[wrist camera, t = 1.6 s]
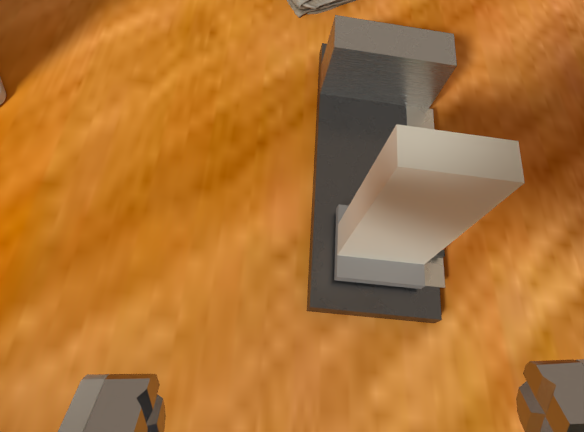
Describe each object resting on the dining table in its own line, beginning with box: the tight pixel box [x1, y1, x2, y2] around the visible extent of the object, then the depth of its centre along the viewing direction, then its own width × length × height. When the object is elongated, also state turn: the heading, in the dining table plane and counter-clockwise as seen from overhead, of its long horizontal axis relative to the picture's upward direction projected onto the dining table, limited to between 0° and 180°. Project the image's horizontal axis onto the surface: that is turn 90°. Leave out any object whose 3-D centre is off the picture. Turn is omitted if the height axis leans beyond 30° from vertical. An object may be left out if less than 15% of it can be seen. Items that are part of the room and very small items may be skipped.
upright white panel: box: [334, 124, 525, 289], centre depth 38 cm, size 8×10×17 cm
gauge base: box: [307, 15, 457, 323], centre depth 47 cm, size 30×12×8 cm, turn 176°
